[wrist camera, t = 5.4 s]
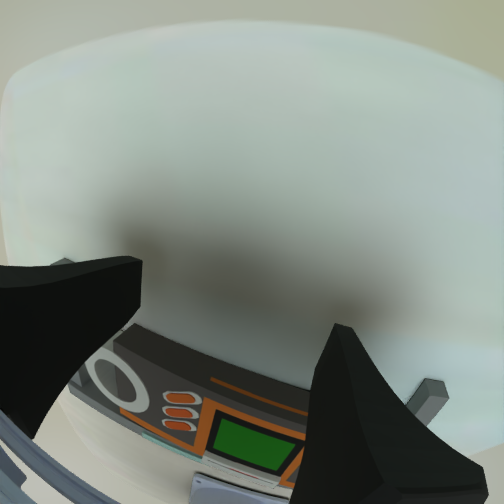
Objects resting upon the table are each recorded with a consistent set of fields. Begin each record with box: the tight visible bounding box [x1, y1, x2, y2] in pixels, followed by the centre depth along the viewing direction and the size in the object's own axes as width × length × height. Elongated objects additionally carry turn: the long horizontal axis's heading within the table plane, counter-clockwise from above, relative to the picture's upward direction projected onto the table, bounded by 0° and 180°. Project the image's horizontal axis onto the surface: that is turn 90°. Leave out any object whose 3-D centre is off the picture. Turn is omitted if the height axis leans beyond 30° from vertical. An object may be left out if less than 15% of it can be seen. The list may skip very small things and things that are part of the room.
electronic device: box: [85, 323, 310, 489], centre depth 14 cm, size 7×3×15 cm
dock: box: [50, 258, 449, 490], centre depth 14 cm, size 10×21×2 cm, turn 77°
